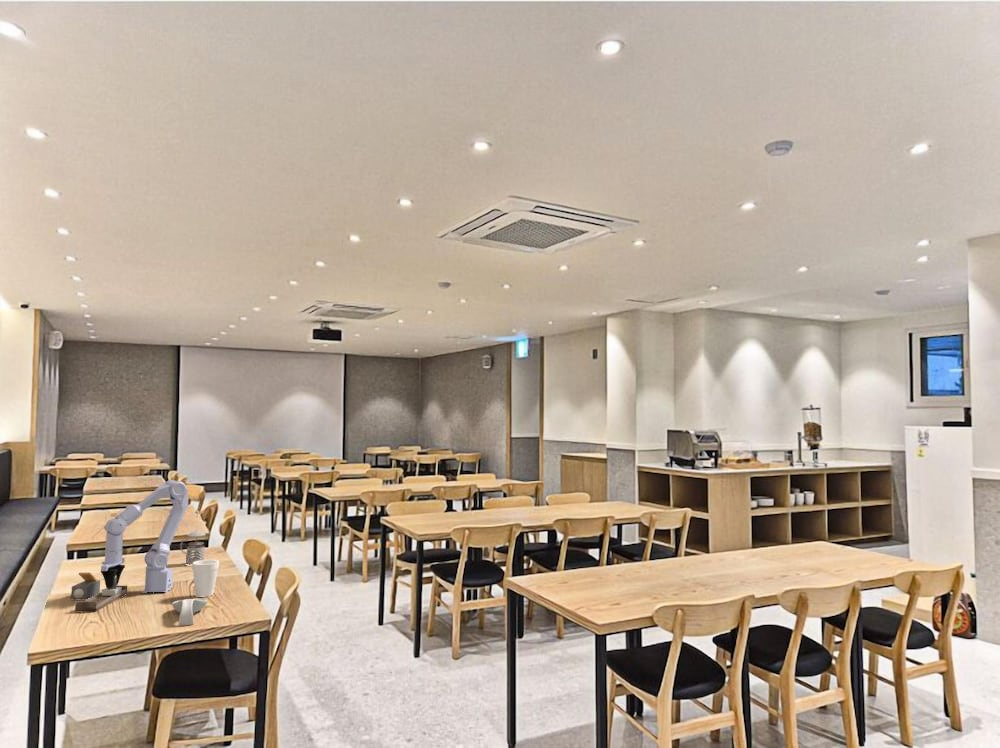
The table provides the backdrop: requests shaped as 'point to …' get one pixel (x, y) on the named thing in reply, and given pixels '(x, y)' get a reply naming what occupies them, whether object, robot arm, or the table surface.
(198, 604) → the spoon rest
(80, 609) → the rail
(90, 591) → the box
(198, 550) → the french press
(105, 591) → the carriage
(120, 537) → the robot arm
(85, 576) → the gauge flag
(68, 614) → the table surface
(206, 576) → the foam cup
